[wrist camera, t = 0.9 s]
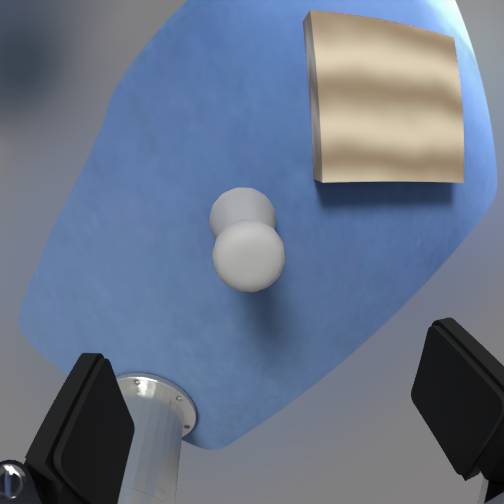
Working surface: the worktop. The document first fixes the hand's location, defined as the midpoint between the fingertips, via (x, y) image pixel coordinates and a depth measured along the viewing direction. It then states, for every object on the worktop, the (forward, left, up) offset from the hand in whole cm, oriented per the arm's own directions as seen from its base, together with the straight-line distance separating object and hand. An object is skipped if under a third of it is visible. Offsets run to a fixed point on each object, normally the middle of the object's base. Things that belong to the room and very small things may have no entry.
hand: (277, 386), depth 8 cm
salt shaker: (0, 0, -23) cm, 23 cm away
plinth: (+11, -15, -23) cm, 30 cm away
